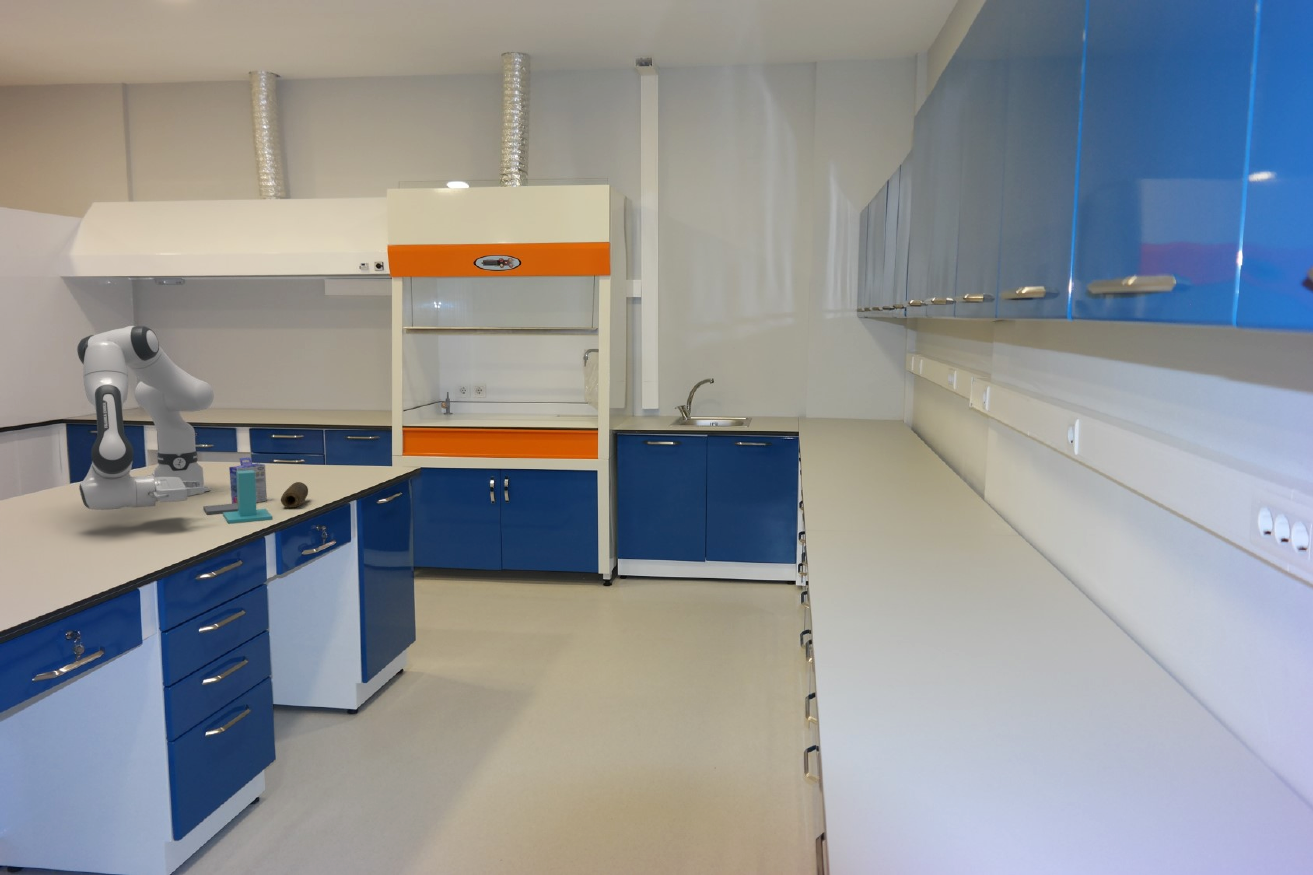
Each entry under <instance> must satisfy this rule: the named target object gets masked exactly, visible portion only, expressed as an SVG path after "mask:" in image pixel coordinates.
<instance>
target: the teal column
mask: <svg viewBox="0 0 1313 875" xmlns="http://www.w3.org/2000/svg"><path fill="white" fill-rule="evenodd" d="M236 477H237V501H238V514H239V515H240V517H241V516H252V515H257V511H256V510H257V502H256V486H255V472H254V471H253V470H248V471H236Z"/></svg>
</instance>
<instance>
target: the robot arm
mask: <svg viewBox="0 0 1313 875" xmlns="http://www.w3.org/2000/svg"><path fill="white" fill-rule="evenodd" d="M76 351H77V356H78V359H79V361H80V362H81V364H82V365H83V368H82V370H83V374H82V376H83V386H84V391H85V394H86V398H87V401H88V402H89V403H90V404H91V405H92V406H94V409H95V414H96V427H97V428H96V429H97V436H96V438H95V441H94V443H93V444H92V447H91V450H90V457H91V464H90V467H89V469H88V472H87V474H86V476H85V477H84V479H83V480H82V482H80V483H79V485H78V486H79V488H78V490H79V493H80V496H81V497H80V498H81V501H82V503H83V505H84V506H85V507H86V508H87V509H89V510H94V511H95V510H96V511H110V510H112V511H113V510H121V509H123V508H146V507H148V508H149V507H156V504H157V502H160V503H166V502H167V503H168V502H184V501H187V500H188V497H191V496H194V495H199V494H204V493H205V492H209V491H211V487H209V486H207V485H205V478H204V468H203V467H202V466H201V465H200V464H199V463H198V458H199V457H198V451H197V450H196V433H195V432H196V431H195V428H194V426H193V425H191V424H190V423H189V422H186V420H184V418H183V417H182V415H181V413H180V412H187V413H189V412H190V413H191V412H192V413H193V412H199V411H204V410H208V409H209V408H210V406H211V405H212V403H213V401H214V396H215V395H214V391H213V388H212V386H211V384H209V382H206V381H205V380H201V379H199V378H197V377H196V376H193V375H191V374H189V373H188V372H186V371H185V370H184V369H182V368H181V367H180V366H178V365H177V364H176V363H174V362H173V361H172V359H171V358H170V357H169V356H168V354H166V352H165V351H164V350H163V348H162V347H161V345H160V343H159V338H158V336H157V334H156V333H155V332H154V331H153V330H152V329H151V328H150V327H148V326H145V325H129V326H128V325H127V326H125V327H121V328H116V329H111V330H108V331H103V332H100V333H97V334H90V335H88V336H86V337H84V338H81V340H80V341H79V343H78V344H77V348H76ZM127 366H128V368H129V369H130V370H131V371H132V372H133V374H134V375H135V376H136V377H137V379H138V380H139V382H138V383H137V385H136V387H135V389H134V398H135V402H136V403H137V404H138V406H139V407H141V408H143V410H145V412H146V413H147V414H148V415H149V417H150V418H151V420H152V422H153V424H154V426H155V429H156V434H157V435H156V436H157V444H158V446H157V447H158V452H157V454H156V455H157V457H156V460H157V464H158V465H157V467H156V468H154V470H153V472H152V473H151V475H149V474H147V475H138V476H131V474H130V473H131V471H132V465H133V460H134V456H135V450H134V448H133V445H132V443H131V442H130V440H129V439H128V437H127V436H126V434H125V429H124V428H125V427H124V419H123V418H124V416H123V407H124V403H126V401H127V398H128V392H129V374H128V368H127Z"/></svg>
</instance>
